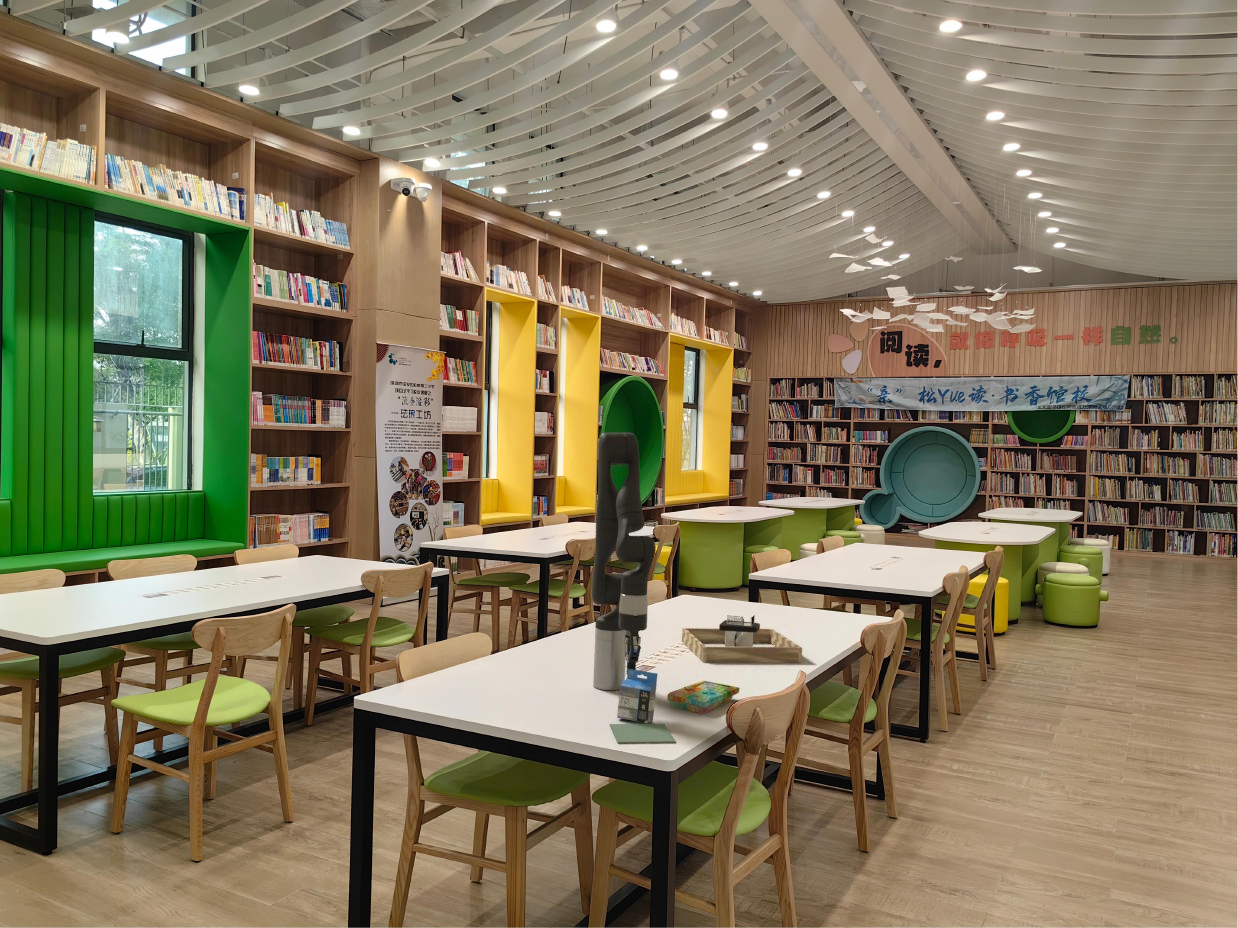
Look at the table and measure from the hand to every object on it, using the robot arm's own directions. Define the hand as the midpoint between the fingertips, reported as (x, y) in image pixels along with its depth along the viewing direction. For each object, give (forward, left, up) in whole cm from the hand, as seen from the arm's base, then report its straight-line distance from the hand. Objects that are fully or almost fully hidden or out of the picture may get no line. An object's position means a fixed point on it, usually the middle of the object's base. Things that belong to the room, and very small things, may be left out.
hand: (630, 675), depth 239 cm
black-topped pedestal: (-73, +51, -10) cm, 90 cm away
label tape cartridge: (+8, 0, -10) cm, 13 cm away
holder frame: (-73, +51, -10) cm, 89 cm away
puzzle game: (-8, +22, -10) cm, 26 cm away
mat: (+19, 0, -10) cm, 21 cm away
